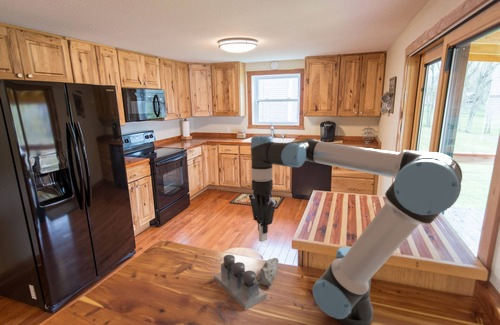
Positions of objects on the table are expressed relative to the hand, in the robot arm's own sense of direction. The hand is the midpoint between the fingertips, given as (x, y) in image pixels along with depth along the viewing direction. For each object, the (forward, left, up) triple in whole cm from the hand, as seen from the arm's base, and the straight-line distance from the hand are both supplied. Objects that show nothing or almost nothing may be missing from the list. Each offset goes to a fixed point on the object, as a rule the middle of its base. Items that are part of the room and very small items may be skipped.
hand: (262, 240), depth 98 cm
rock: (+6, -9, -23) cm, 26 cm away
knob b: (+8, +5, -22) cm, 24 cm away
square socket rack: (+8, +5, -23) cm, 25 cm away
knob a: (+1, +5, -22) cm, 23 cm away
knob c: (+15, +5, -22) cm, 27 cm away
